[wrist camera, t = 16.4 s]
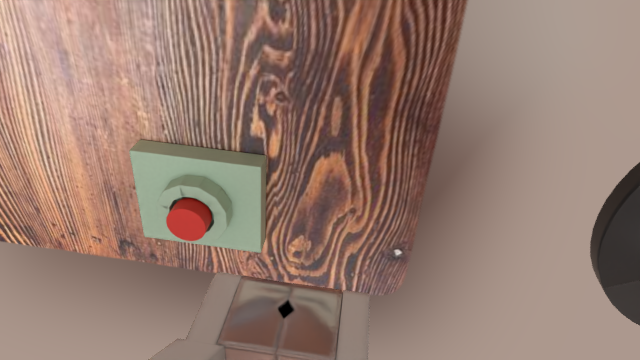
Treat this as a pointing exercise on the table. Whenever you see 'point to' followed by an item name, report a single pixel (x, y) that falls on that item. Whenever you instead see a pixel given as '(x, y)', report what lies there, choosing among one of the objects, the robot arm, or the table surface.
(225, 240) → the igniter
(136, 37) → the table surface
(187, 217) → the button
